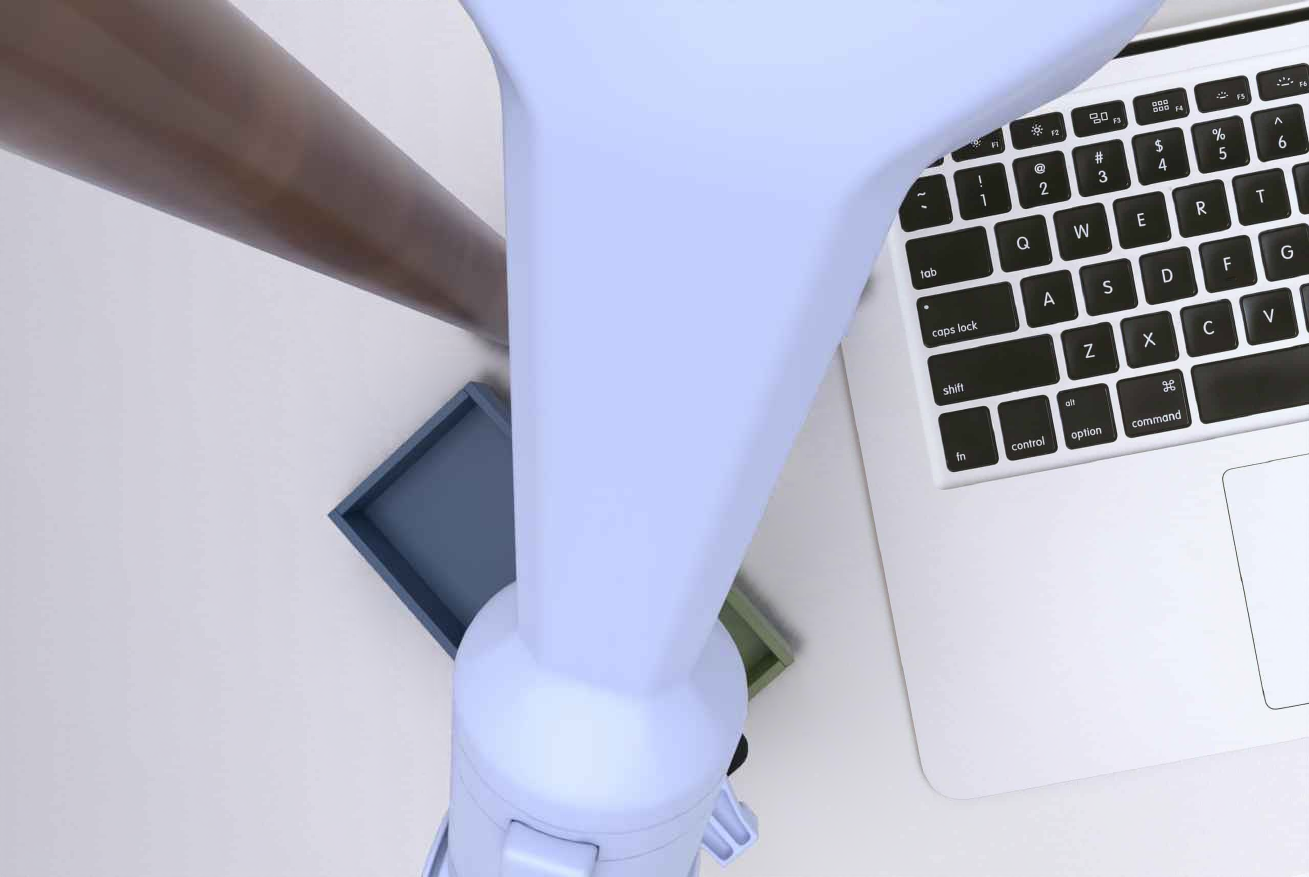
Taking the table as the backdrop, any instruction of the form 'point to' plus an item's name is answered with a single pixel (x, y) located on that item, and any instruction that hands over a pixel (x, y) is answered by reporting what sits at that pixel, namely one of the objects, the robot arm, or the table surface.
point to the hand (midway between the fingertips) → (644, 660)
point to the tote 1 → (442, 514)
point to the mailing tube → (240, 148)
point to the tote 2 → (754, 641)
